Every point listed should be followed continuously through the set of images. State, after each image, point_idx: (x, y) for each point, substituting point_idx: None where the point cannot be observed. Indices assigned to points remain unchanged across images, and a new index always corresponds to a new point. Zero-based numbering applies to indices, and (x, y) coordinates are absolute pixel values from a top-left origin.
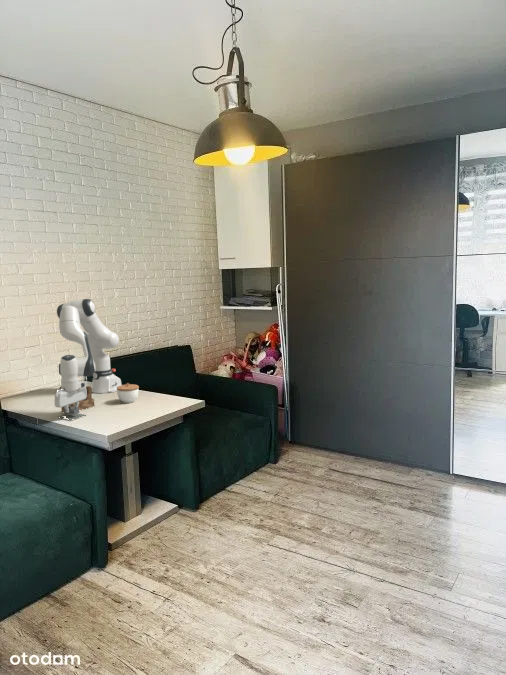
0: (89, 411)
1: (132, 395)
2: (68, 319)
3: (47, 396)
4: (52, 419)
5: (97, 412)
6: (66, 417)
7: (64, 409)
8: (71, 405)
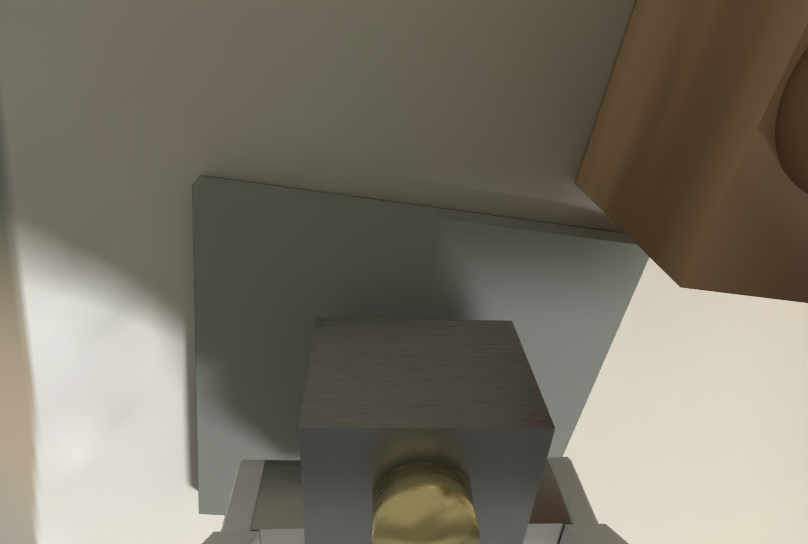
0: (801, 408)
1: None
2: None
3: None
4: (51, 106)
5: (737, 529)
6: (270, 368)
7: (307, 404)
8: (791, 297)
